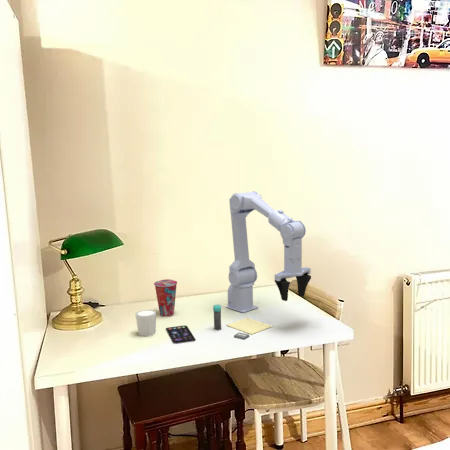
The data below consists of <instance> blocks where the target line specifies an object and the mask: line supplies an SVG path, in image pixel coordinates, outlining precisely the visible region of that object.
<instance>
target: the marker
mask: <svg viewBox="0 0 450 450" xmlns="http://www.w3.org/2000/svg"><path fill="white" fill-rule="evenodd" d="M212 310H213V330H215V331H220V330H222V305H221V304H214V305H213V307H212Z"/></svg>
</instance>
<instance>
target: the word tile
mask: <svg viewBox="0 0 450 450" xmlns="http://www.w3.org/2000/svg"><path fill="white" fill-rule="evenodd" d="M249 337H250V334H248V333H244V332H243V333H242V332H237V333H236V334H234V335H233V338H236V339H241V340H246V339H248V338H249Z"/></svg>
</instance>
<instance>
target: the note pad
mask: <svg viewBox="0 0 450 450" xmlns="http://www.w3.org/2000/svg"><path fill="white" fill-rule="evenodd" d="M226 326H227V327H229V328H232V329H234V330H237V331H240V332H241V333H242V332H243V333H244V334H248V335H251V336H252V335H254V334H257V333H260V332H262V331H265V330H268V329H271V328H273V325H270V324H269V323H268V324H267V323H264V322H262V321H258V320H255V319H253V318H249V317H245V318H242V319H239V320H236V321H234V322H232V323H228V324H226ZM270 327H271V328H270ZM267 328H268V329H267Z"/></svg>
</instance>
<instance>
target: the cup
mask: <svg viewBox="0 0 450 450" xmlns="http://www.w3.org/2000/svg"><path fill="white" fill-rule="evenodd" d="M177 284H178V281H177V280H174V279H170V278H169V279H167V278H166V279H165V278H164V279H162V280H161V279H160V280H158V281H155V282H154V283H153V285H154V288H155V294H156V301H157V305H158V309H159V310H158V311H159V315H160V316H161V317H165V318H166V317H167V318H168V317H171V316H174V315H175V307H176V296H177V295H176V294H177Z"/></svg>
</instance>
